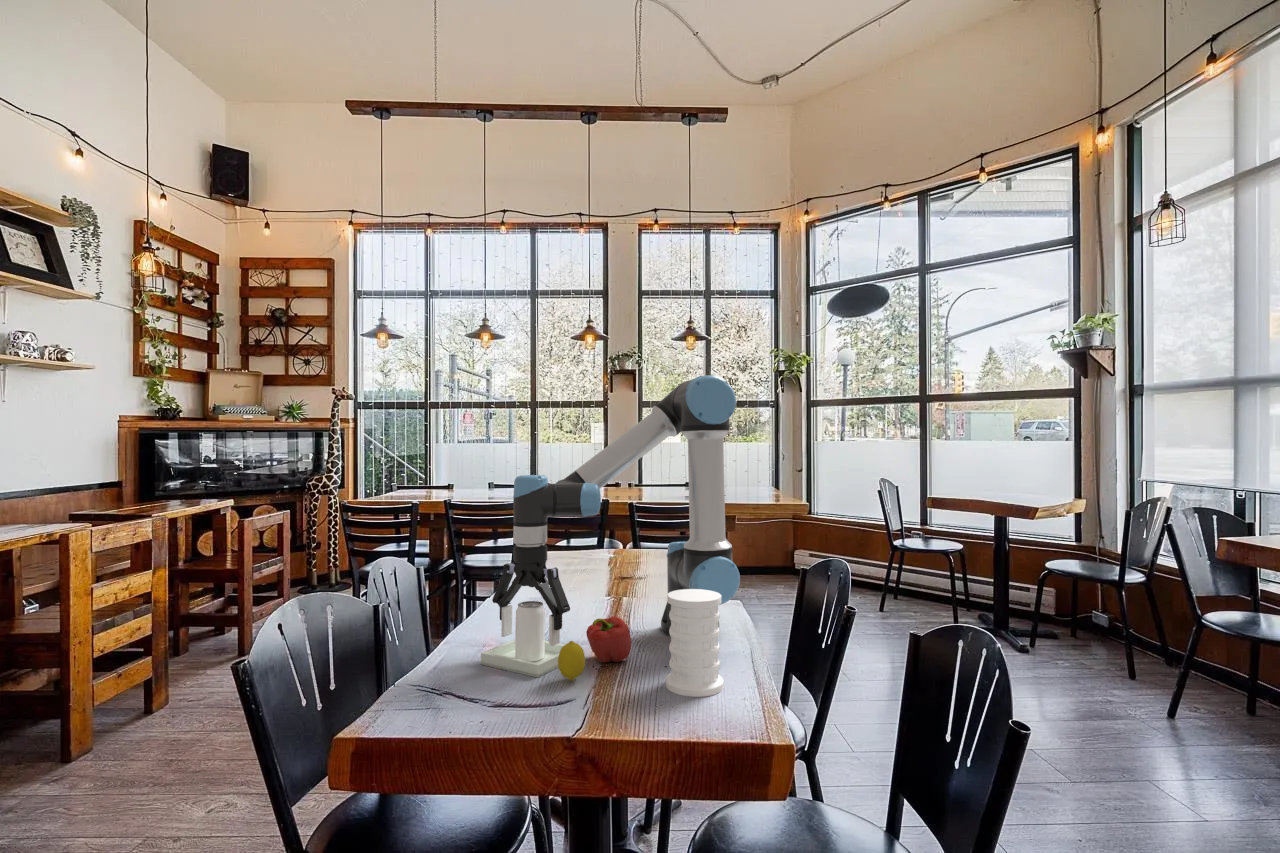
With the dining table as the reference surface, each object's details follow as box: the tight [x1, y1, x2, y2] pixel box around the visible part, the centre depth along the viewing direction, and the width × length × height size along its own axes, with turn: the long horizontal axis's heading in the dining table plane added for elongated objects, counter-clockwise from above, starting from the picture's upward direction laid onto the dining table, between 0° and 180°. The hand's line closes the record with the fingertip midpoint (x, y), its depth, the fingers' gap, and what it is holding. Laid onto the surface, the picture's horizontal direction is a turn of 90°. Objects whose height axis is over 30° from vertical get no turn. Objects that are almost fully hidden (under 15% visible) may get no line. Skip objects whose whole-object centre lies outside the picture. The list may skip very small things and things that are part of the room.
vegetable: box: [585, 615, 632, 664], centre depth 141 cm, size 11×10×10 cm
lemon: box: [558, 640, 586, 682], centre depth 129 cm, size 6×6×8 cm
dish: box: [480, 639, 565, 678], centre depth 141 cm, size 16×14×2 cm
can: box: [514, 600, 546, 662], centre depth 141 cm, size 6×6×12 cm
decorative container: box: [665, 589, 725, 698], centre depth 126 cm, size 12×12×18 cm
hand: (530, 639), depth 141 cm, fingers open, 13 cm apart
